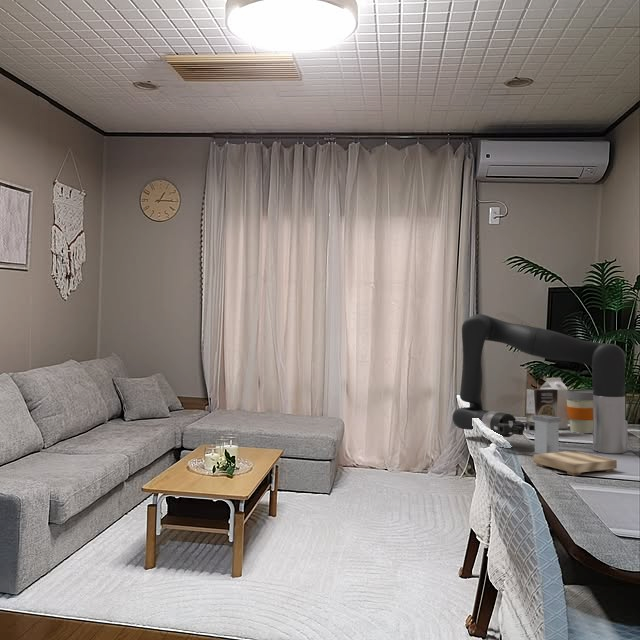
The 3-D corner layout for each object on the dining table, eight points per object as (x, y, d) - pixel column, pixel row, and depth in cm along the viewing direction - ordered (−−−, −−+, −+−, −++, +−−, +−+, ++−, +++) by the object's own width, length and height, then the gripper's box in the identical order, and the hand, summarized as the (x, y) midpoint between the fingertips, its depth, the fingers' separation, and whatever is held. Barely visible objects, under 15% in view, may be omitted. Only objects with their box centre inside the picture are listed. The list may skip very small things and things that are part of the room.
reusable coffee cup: (565, 433, 247) (565, 391, 247) (565, 428, 259) (565, 388, 259) (603, 435, 243) (603, 393, 243) (601, 430, 255) (601, 390, 255)
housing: (544, 454, 206) (544, 414, 207) (561, 459, 200) (561, 417, 200) (532, 455, 205) (532, 415, 205) (549, 460, 198) (549, 418, 198)
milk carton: (539, 427, 262) (540, 377, 262) (554, 426, 265) (554, 376, 265) (553, 429, 256) (553, 378, 256) (567, 428, 259) (567, 378, 259)
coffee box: (535, 435, 242) (535, 389, 242) (525, 432, 248) (525, 388, 249) (558, 434, 245) (558, 389, 245) (547, 431, 251) (547, 387, 251)
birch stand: (574, 461, 197) (574, 450, 197) (616, 471, 183) (616, 460, 183) (533, 465, 191) (533, 454, 191) (574, 476, 177) (574, 464, 177)
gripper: (480, 413, 219) (514, 419, 205) (516, 411, 225) (551, 417, 210) (480, 436, 219) (514, 444, 205) (516, 433, 225) (551, 441, 210)
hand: (533, 430), depth 208 cm, fingers open, 8 cm apart
